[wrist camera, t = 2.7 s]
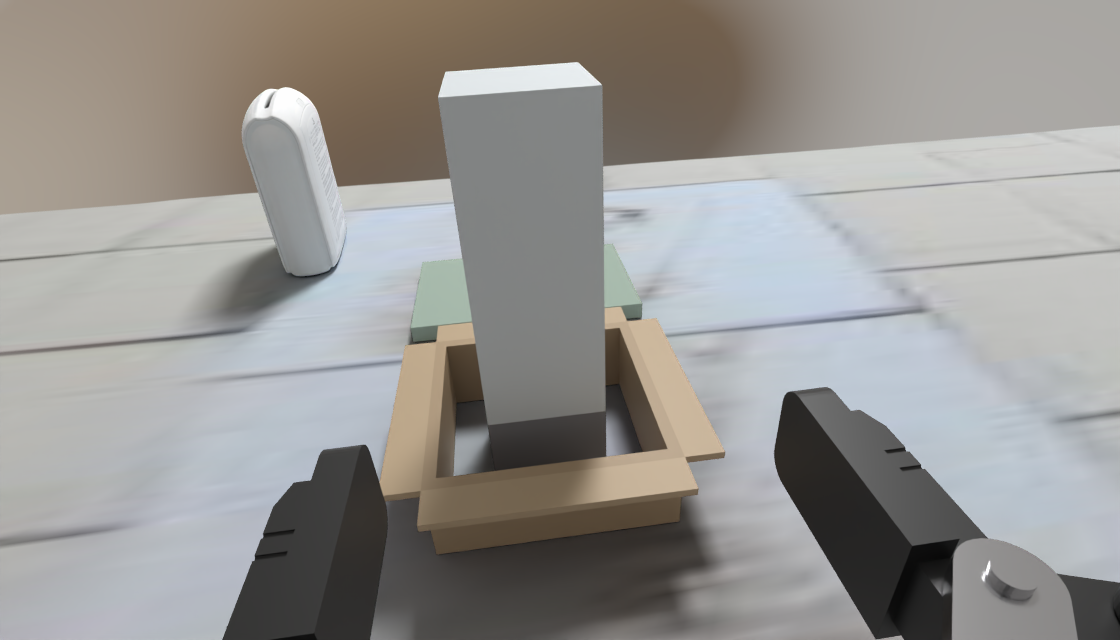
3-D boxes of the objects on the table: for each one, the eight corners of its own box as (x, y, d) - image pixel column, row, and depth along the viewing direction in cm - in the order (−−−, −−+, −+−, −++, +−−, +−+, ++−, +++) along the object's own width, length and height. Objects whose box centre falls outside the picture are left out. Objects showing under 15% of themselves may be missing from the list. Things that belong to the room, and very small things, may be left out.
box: (498, 496, 24) (437, 97, 16) (495, 424, 28) (445, 71, 20) (606, 482, 25) (602, 84, 16) (588, 412, 29) (578, 62, 20)
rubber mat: (413, 342, 35) (410, 328, 34) (424, 274, 43) (422, 262, 42) (641, 317, 36) (642, 303, 35) (612, 256, 44) (612, 243, 43)
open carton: (391, 596, 21) (370, 531, 19) (420, 383, 31) (408, 329, 30) (730, 548, 22) (741, 482, 20) (647, 357, 32) (649, 303, 30)
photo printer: (301, 230, 51) (256, 81, 45) (351, 224, 52) (314, 76, 45) (280, 282, 43) (220, 107, 36) (340, 274, 43) (292, 101, 37)
